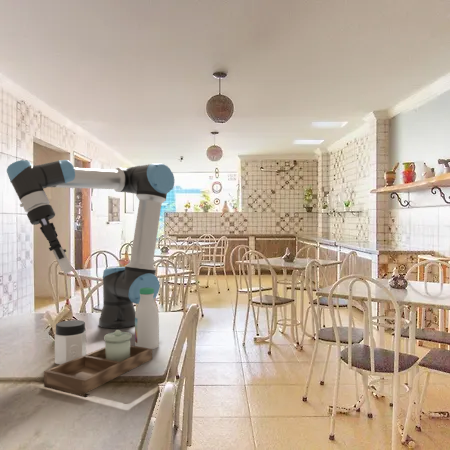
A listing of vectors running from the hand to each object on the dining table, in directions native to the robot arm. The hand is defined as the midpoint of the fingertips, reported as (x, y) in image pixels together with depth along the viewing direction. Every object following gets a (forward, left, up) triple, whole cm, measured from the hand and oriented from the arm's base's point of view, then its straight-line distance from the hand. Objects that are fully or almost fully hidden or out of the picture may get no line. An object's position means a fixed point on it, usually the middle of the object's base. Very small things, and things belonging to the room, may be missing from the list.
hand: (68, 270), depth 130 cm
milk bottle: (-17, +17, -27) cm, 36 cm away
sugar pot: (-1, +19, -26) cm, 32 cm away
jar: (+4, +5, -27) cm, 28 cm away
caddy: (+6, +19, -27) cm, 33 cm away
